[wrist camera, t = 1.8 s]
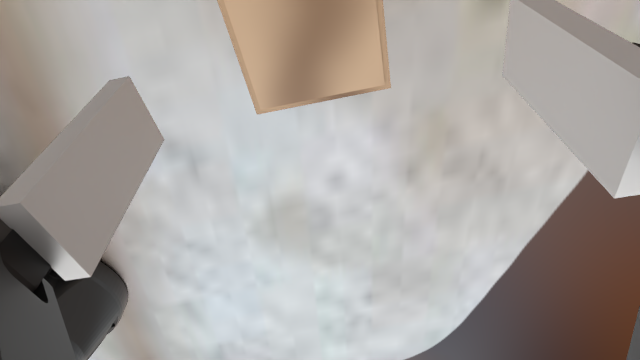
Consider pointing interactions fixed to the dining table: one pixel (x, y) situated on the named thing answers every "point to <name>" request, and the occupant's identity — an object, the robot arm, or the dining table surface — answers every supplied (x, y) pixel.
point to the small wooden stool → (308, 49)
